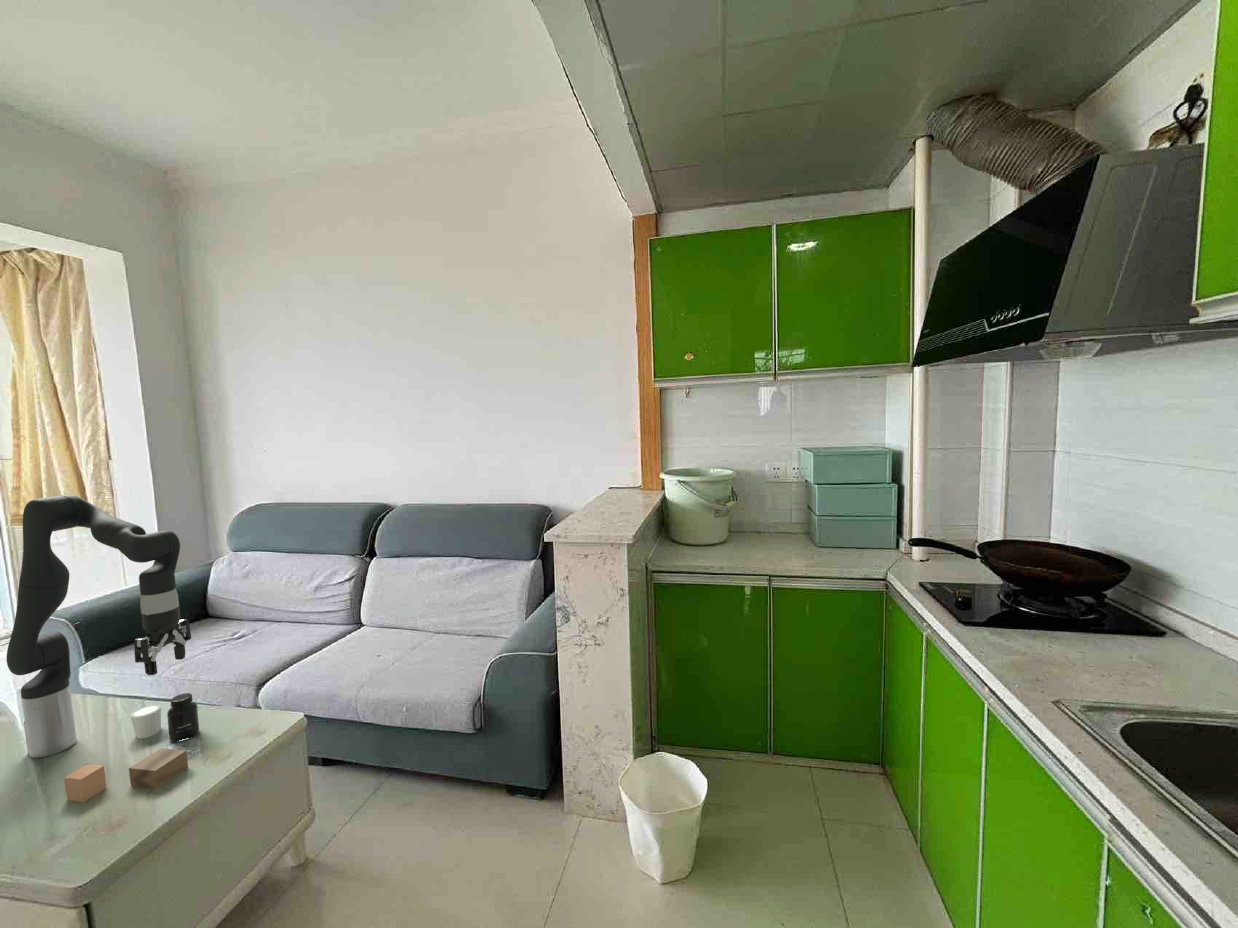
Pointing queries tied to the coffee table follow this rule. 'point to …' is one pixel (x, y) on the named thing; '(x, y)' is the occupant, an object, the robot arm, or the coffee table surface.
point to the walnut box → (158, 768)
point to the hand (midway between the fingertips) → (166, 666)
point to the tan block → (85, 783)
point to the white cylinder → (146, 721)
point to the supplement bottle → (182, 718)
